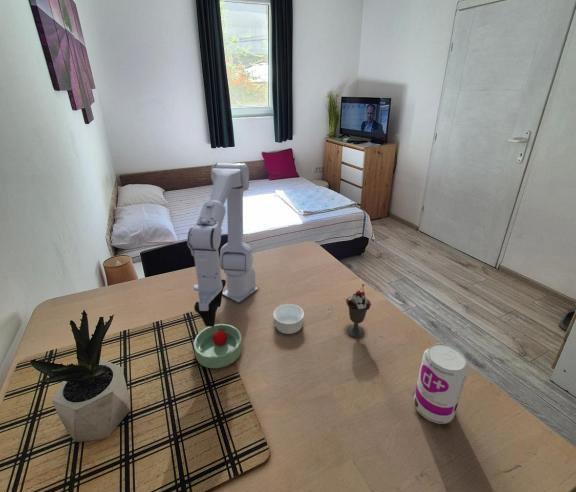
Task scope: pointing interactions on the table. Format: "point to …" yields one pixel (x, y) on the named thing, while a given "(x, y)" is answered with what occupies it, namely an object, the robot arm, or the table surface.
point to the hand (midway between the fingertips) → (213, 315)
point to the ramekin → (288, 318)
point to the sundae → (357, 312)
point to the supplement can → (440, 383)
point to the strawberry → (220, 337)
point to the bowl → (217, 347)
